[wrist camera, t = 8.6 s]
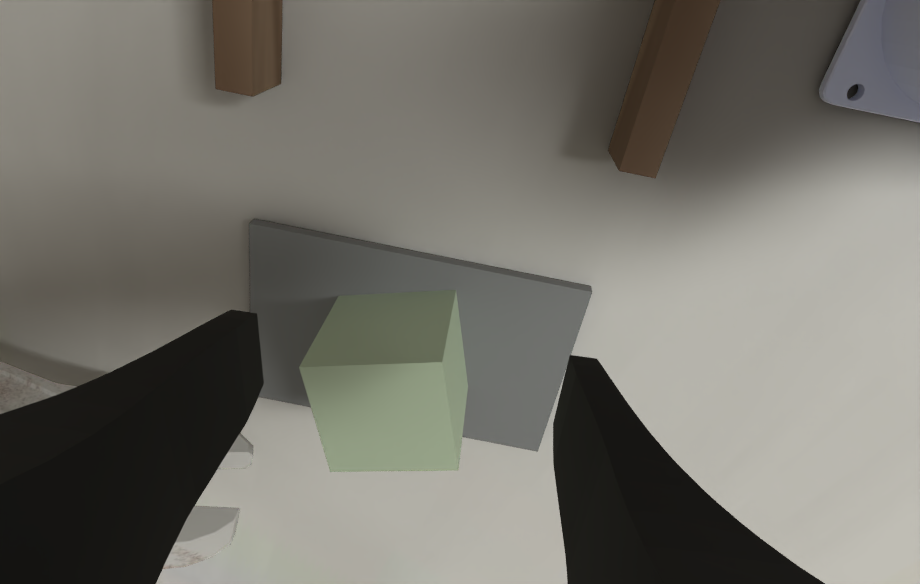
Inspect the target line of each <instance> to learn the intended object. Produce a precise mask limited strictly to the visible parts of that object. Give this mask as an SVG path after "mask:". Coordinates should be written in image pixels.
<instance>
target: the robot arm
mask: <svg viewBox="0 0 920 584" xmlns="http://www.w3.org/2000/svg"><path fill="white" fill-rule="evenodd" d="M855 84H857V85H858V91H857V93H856V94H855V95H854V96H853V97H851V98H847V91H848V90H849V88H850V87H851V86H853V85H855ZM819 96H820V98H821V99H822V100H823V101H825V102H827V103H829V104H832V105H836V106H841V107H846V108H850V109H855V110H860V111H865V112H870V113H875V114H880V115H885V116H889V117H894V118H899V119H904V120H909V121H914V122H919V123H920V0H861V1H860V3H859V5H858V7H857V9H856V11H855V13H854V15H853V17H852V19H851V22H850V24H849V26H848V28H847V30H846V32H845V34H844V36H843V38H842V40H841V43H840V45H839V47H838V49H837V51H836V53H835V55H834V57H833V59H832V61H831V64H830V66H829V68H828V70H827V72H826V74H825V76H824V78H823V80H822V82H821V85H820V88H819ZM263 385H264V379H263V369H262V358H261V348H260V338H259V327H258V317H257V313H250V312H243V311H235V310H230V311H228V312H226V313H224V314H222V315H220V316H218V317H216V318H214V319H212V320H210V321H208V322H206V323H205V324H203V325H201V326H199V327H197V328H195V329H194V330H192V331H190V332H188V333H186V334H184V335H183V336H181V337H179V338H177V339H175V340H173V341H172V342H170V343H168V344H166V345H164V346H162V347H160V348H159V349H157V350H155V351H153V352H151V353H149V354H147V355H145V356H143V357H141V358H139V359H137V360H135V361H133V362H130V363H128V364H126V365H124V366H122V367H120V368H118V369H116V370H114V371H112V372H110V373H108V374H106V375H103V376H101V377H99V378H97V379H94V380H92V381H90V382H87V383H85V384H83V385H80V386H78V387H75V388H73V389H70V390H68V391H65V392H63V393H60V394H58V395H55V396H52V397H49V398H47V399H44V400H41V401H38V402H35V403H32V404H29V405H26V406H23V407H20V408H17V409H14V410H11V411H8V412H5V413H2V414H0V584H156V582H157V580H158V577H159V575H160V573H161V571H162V569H163V567H164V564H165V562H166V560H167V558H168V556H169V554H170V552H171V550H172V548H173V546H174V544H175V542H176V540H177V538H178V536H179V534H180V532H181V530H182V528H183V526H184V524H185V522H186V520H187V518H188V516H189V514H190V513H191V511H192V509H193V507H194V506H195V504H196V502H197V500H198V499H199V497H200V496H201V494H202V493H203V491H204V489H205V488H206V486H207V485H208V483H209V481H210V480H211V478H212V477H213V475H214V474H215V472H216V470H217V469H218V467H219V466H220V464H221V462H222V461H223V459H224V458H225V456H226V455H227V453H228V451H229V450H230V448H231V447H232V445H233V443H234V442H235V440H236V439H237V437H238V435H239V434H240V432H241V430H242V429H243V427H244V425H245V424H246V422H247V420H248V418H249V416H250V414H251V412H252V410H253V408H254V405H255V403H256V401H257V399H258V396H259V394H260V392H261V389H262V387H263ZM553 457H554V471H555V479H556V487H557V494H558V502H559V509H560V517H561V524H562V532H563V539H564V547H565V554H566V565H567V579H568V584H825V583H823V582H822V581H820V580H819V579H817V578H815V577H814V576H812V575H811V574H809V573H808V572H806V571H805V570H803V569H802V568H800V567H799V566H797V565H796V564H794V563H793V562H792V561H790V560H789V559H787V558H786V557H785V556H783V555H782V554H781V553H779V552H778V551H777V550H775V549H774V548H773V547H771V546H770V545H768V544H767V543H766V542H764V541H763V540H762V539H760V538H759V537H758V536H757V535H755V534H754V533H753V532H752V531H750V530H749V529H748V528H747V527H745V526H744V525H743V524H742V523H740V522H739V521H738V520H737V519H736V518H735V517H733V516H732V515H731V514H730V513H729V512H728V511H726V510H725V509H724V508H723V507H722V506H721V505H719V504H718V503H717V502H716V501H715V500H714V499H713V498H711V497H710V496H709V495H708V494H707V493H706V492H705V491H704V490H703V489H702V488H701V487H700V486H699V485H698V484H697V483H696V482H695V481H694V480H693V479H692V478H691V477H690V476H689V475H688V474H687V473H686V472H685V471H684V470H683V469H682V468H681V467H680V466H679V465H678V464H677V463H676V462H675V461H674V460H673V459H672V458H671V457H670V456H669V454H668V453H667V452H666V451H665V450H664V449H663V448H662V446H661V445H660V444H659V443H658V442H657V441H656V439H655V438H654V437H653V436H652V435H651V433H650V432H649V431H648V430H647V428H646V427H645V426H644V425H643V423H642V422H641V421H640V419H639V418H638V417H637V415H636V414H635V413H634V411H633V410H632V409H631V407H630V406H629V405H628V403H627V402H626V400H625V399H624V398H623V396H622V395H621V393H620V392H619V390H618V389H617V387H616V386H615V384H614V383H613V382H612V380H611V379H610V377H609V376H608V374H607V373H606V371H605V370H604V368H603V367H602V365H601V364H600V362H599V361H598V360H597V359H595V358H587V357H580V356H572V355H570V356H569V360H568V365H567V369H566V373H565V377H564V381H563V385H562V390H561V394H560V398H559V402H558V406H557V410H556V414H555V419H554V423H553Z"/></svg>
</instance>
